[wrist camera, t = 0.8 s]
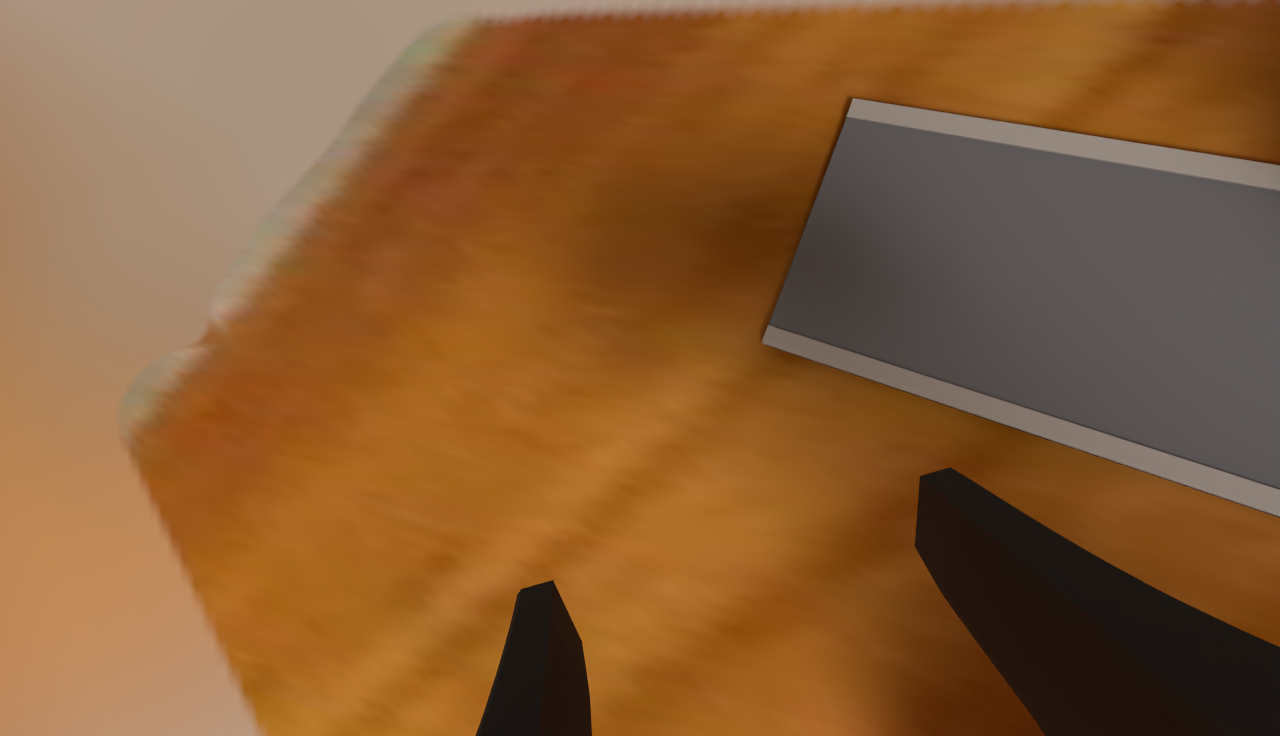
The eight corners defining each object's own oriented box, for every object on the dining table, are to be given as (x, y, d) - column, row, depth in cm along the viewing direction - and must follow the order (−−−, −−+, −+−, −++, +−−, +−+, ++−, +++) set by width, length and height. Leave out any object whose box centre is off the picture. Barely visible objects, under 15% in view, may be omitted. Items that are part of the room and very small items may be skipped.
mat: (1472, 204, 18) (1488, 198, 17) (1334, 535, 18) (1346, 538, 18) (853, 104, 25) (853, 98, 25) (763, 344, 26) (761, 342, 25)
